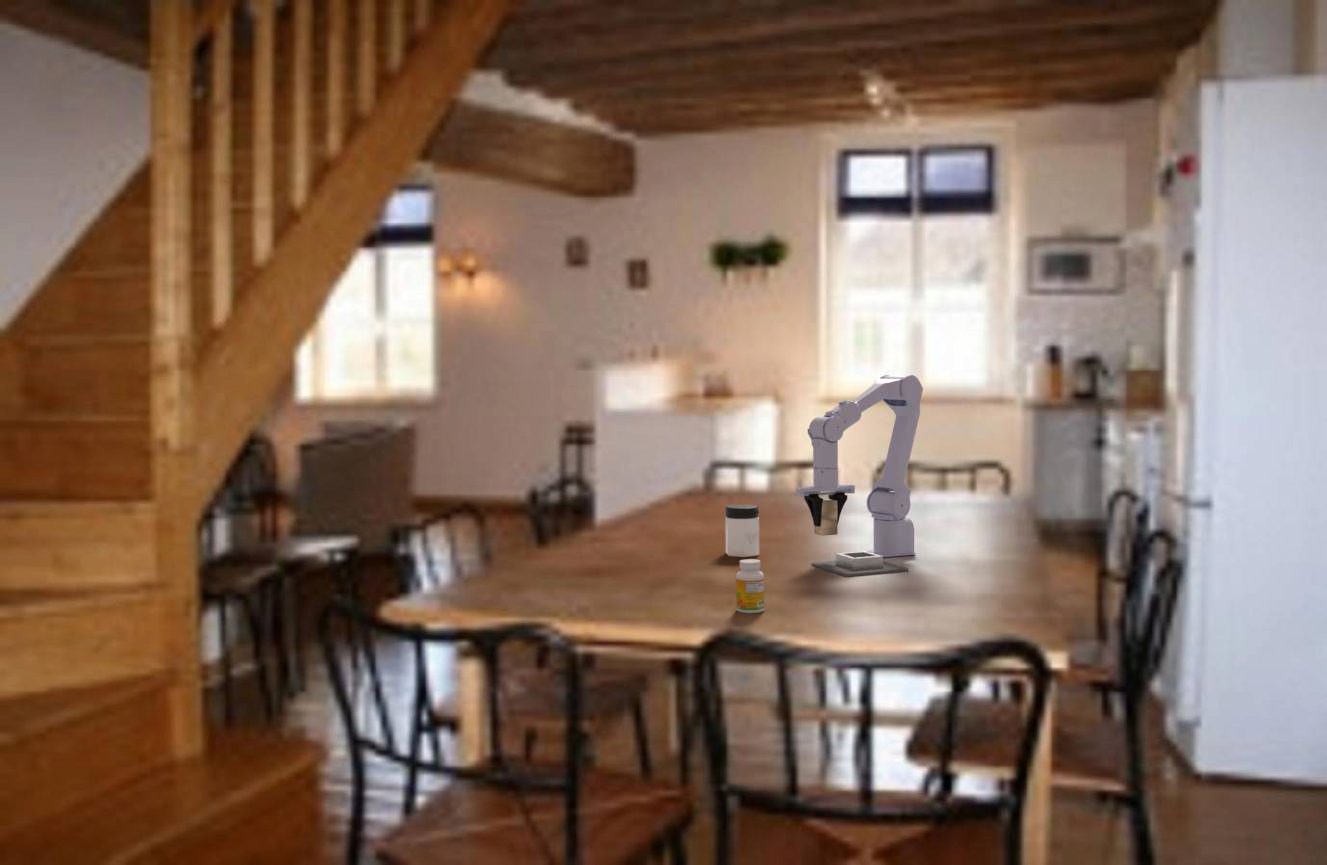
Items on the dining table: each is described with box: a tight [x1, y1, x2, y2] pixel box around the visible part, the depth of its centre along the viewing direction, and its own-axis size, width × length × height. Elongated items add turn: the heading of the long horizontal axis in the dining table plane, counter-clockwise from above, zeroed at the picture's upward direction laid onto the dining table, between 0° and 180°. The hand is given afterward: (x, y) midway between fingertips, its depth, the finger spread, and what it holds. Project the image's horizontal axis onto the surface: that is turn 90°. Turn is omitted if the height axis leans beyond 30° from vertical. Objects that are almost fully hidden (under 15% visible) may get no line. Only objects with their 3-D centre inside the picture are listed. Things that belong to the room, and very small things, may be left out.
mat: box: [811, 560, 909, 578], centre depth 268 cm, size 16×16×1 cm
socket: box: [835, 550, 884, 570], centre depth 268 cm, size 8×8×2 cm
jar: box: [724, 503, 760, 558], centre depth 289 cm, size 9×8×12 cm
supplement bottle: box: [735, 558, 765, 614], centre depth 225 cm, size 5×5×10 cm
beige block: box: [813, 498, 839, 537], centre depth 274 cm, size 4×4×8 cm
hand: (825, 525), depth 275 cm, fingers closed on beige block, 4 cm apart
